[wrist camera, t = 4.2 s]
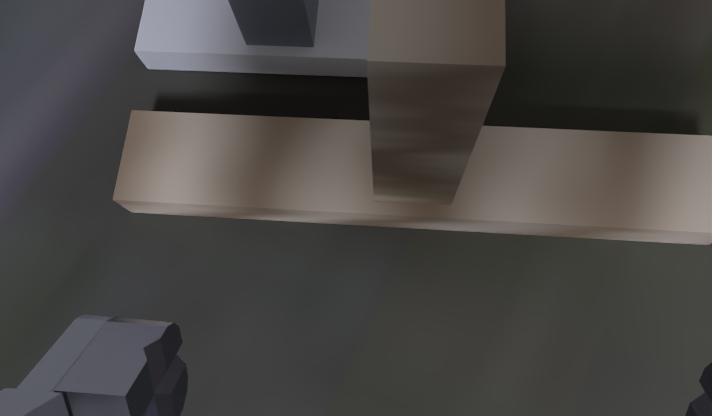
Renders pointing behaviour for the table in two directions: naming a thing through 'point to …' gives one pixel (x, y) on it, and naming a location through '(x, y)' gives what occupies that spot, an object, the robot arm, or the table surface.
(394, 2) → the balance beam
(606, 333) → the table surface
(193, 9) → the ridge stand
